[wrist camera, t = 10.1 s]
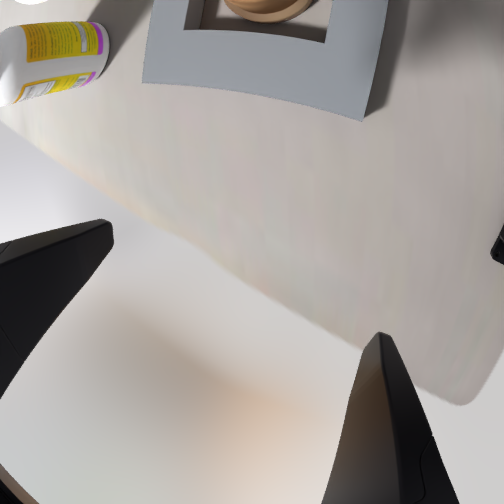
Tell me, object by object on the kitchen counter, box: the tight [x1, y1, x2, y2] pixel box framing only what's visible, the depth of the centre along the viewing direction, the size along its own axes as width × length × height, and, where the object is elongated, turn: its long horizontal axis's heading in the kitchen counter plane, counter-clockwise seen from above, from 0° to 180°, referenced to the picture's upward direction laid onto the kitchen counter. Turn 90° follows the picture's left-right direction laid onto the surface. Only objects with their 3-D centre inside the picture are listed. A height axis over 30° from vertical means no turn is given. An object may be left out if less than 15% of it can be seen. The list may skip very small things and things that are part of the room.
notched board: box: [142, 0, 388, 122], centre depth 13 cm, size 15×12×2 cm
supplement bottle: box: [0, 22, 109, 107], centre depth 13 cm, size 7×7×13 cm
